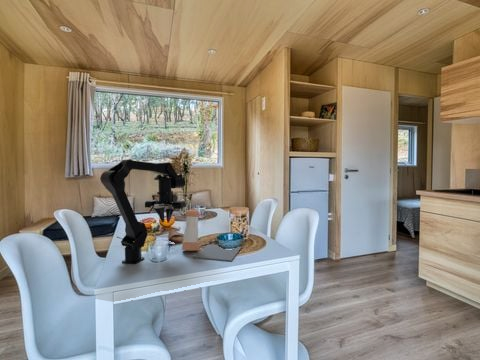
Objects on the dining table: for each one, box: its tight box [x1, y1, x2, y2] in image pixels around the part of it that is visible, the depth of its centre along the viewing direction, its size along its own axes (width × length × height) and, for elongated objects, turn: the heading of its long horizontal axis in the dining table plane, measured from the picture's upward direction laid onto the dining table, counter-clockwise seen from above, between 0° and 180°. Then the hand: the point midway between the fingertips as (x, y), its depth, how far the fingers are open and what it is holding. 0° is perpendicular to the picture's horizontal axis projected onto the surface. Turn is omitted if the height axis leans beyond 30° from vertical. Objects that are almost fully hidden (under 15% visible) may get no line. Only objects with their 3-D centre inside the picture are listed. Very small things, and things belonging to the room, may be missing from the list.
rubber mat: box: [193, 243, 243, 262], centre depth 118 cm, size 18×17×1 cm
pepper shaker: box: [181, 207, 201, 251], centre depth 121 cm, size 7×7×19 cm
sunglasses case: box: [167, 229, 184, 245], centre depth 139 cm, size 18×7×7 cm
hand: (165, 222), depth 122 cm, fingers open, 2 cm apart
